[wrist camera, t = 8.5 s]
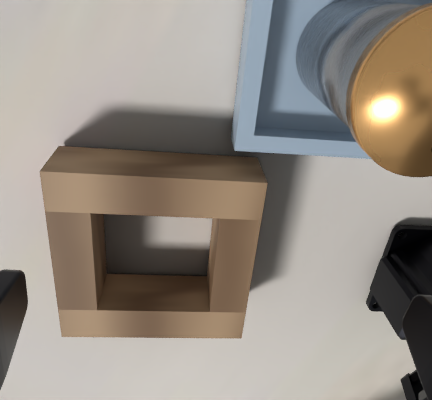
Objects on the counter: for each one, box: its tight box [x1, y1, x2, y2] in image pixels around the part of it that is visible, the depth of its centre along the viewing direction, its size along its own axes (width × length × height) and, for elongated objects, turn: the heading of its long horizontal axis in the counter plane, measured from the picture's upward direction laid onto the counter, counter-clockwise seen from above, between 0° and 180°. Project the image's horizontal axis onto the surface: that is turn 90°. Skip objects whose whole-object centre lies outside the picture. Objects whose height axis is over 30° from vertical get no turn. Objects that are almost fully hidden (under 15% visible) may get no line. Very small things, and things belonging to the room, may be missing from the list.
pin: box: [296, 0, 432, 177], centre depth 14 cm, size 5×5×8 cm
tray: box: [231, 0, 432, 159], centre depth 18 cm, size 9×9×2 cm
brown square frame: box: [40, 146, 268, 338], centre depth 21 cm, size 10×10×3 cm
